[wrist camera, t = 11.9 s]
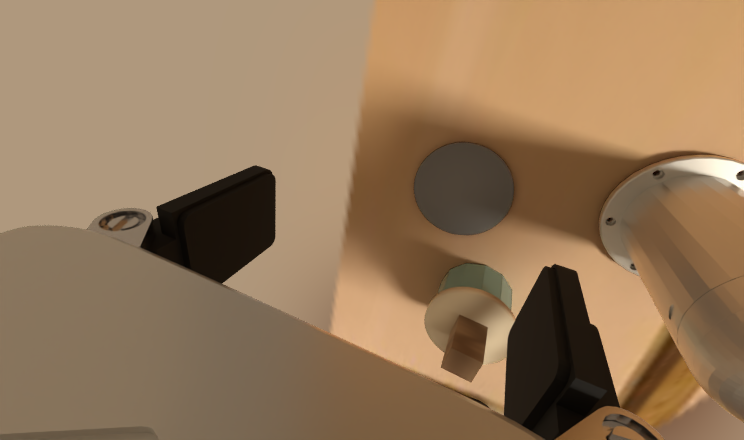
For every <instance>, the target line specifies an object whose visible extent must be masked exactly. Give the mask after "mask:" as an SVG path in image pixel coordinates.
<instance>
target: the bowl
mask: <svg viewBox="0 0 744 440" xmlns="http://www.w3.org/2000/svg"><path fill="white" fill-rule="evenodd" d="M453 287H472V288H477V289H480V290H483V291H486V292H488V293H490V294H492V295H494V296H496V297H497V298H499V299H500V300H501V301H502V302H504V303H505V304H506V305H507V306H508V308H509V309H510V310H511V304H512V289H511V288H510V286H509V284H508V283H507V281H506V280H505V278H504V276H503V275H502V274H500V273H498V272H496V271H495V270H493V269H491V268H490V267H488V266H486V265H478V264H469V263H466V264H463V265H460V266H457V267H455V268H452V269H450V271H449V272H448V273H447V275H446V276H445V277H444V279H443V280H442V282H441V285H440V288H439V291H438V293H440V292H441V291H443V290H446V289H449V288H453ZM438 293H437V294H438Z"/></svg>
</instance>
